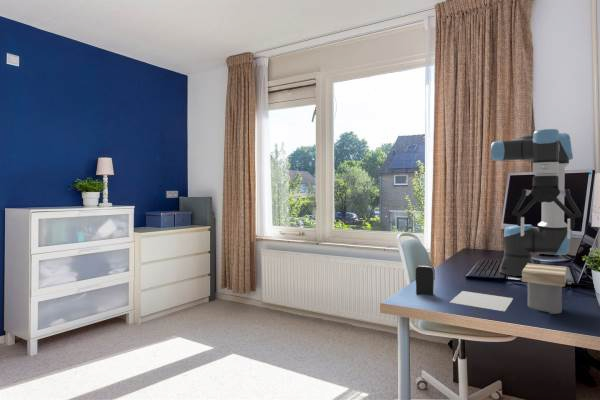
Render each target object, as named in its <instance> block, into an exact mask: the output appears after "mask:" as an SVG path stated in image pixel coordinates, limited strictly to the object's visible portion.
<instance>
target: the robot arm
mask: <svg viewBox="0 0 600 400" xmlns="http://www.w3.org/2000/svg"><path fill="white" fill-rule="evenodd" d="M490 157H491V160H492V161H494V162H495V161H496V162H498V161H499V162H502V161H506V162H507V161H523V162H525V161H526V162H532V174H533V175H534V176H533V177H532V189H531V190H530V189H525V188H524V189H522V191H521V196H520V197H519V200H518V201H517V203H516V205H515V206H514V208H513V210H512V212H511V215H512V216H515V217H516V218H517V222H516V223H517V224H514V225H508V226H506V227H504V230H503V236H502V237H503V258H502V261H501V264H500V266H499V273H500V272H501V273H504V274H506V275H505V276H508V275H513V276H512V277H514V276H522V270H523V269H524V268H525V266H526V265H527V263H530V264H535V263H534V260H533V254H540V255H541V254H542V255H543V254H544V255H554V256H566V255H568V254H569V250H570V245H571V241H572V234H573V229H575V226H576V222H575V221H576V219H578V218H581V217H582V213H581V211H580V210H579V208H578V206H577V205H576V203H575V201H574V200H573V198H572V196H571V191H570V189H569V188H567V189H565V185H566V184H565V182H566V181H565V179H566V177H565V171H566V167H567V166H568V165H569V164H570V160H573V159H574V156H573V147H572V142H571V136H570V134H569V133H566V132H565V133H564V132H563V133H561V132H559V130H558V129H556V128H553V129H552V128H546V129H538V130H535V131H534V132H533V134H532V135H531V134H530V135H524V136H521V137H517V138H513V139H511V140H510V139H509V140H499V141H492V143H491V145H490ZM530 194H531V195H532V196H533V199H531V200H530V201H529V203H527V205H525V206H524V208H523V209H521V210H520V208H521V206H522V204H523V203H524V201H525V200H526V198H527V197H528V196H530ZM565 198H566V199H567V202H568V204H569V206H570V207H571V209H572V210H573V212H574V213H575V214H573V212H571V210H569V208H567V206H566V205H565ZM537 202H539V203H541V220H540V222H538V223H537V227H534V226H533V225H532V224H530V223H529V224H525V217H524V216H523V215H524V214H525V213H527V211H528V210H529V209H530V208H531V207H532V206H533V205H534V204H535V203H537ZM519 210H520V211H519ZM518 211H519V212H518ZM565 214H566V215H567V217H569V218H567V222H565ZM501 273H500V274H501ZM504 274H503V275H504Z"/></svg>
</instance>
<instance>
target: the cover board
mask: <svg viewBox="0 0 600 400" xmlns="http://www.w3.org/2000/svg"><path fill="white" fill-rule="evenodd" d="M567 268H568V267H567V266H563V265H562V266H561V265H551V264H550V265H549V264H540V263H539V264H538V263H534V264H530V263H527V265H526V266H525V268H524V269H523V270H522V277H521V282H523V283H528V282H529V283H538V284H546V285H555V286H562V288H563V287H565V286H566V280H567V272H568V270H567Z"/></svg>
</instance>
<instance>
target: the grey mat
mask: <svg viewBox="0 0 600 400" xmlns="http://www.w3.org/2000/svg"><path fill="white" fill-rule="evenodd" d="M513 299H514V298H513V297H506V296H500V295H494V294H493V295H492V294H485V293H479V292H471V291H465V290H462V291H460V293H458V294H457V295H455V296H454V298H453V299H452V300H450V301H449V303H451V304H457V305H461V306H462V305H463V306H469V307H475V308H481V309H488V310H494V311H499V312H504V313H505V312H506V311H507V310H508V308H509V306H510V304H511V303H512V301H513Z"/></svg>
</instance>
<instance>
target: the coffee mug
mask: <svg viewBox="0 0 600 400" xmlns="http://www.w3.org/2000/svg"><path fill="white" fill-rule="evenodd" d="M527 307H528V308H530V309H532V310H536V311H539V312H547V313H548V314H550V315H555V314H560V313H562V312H563V310H562V309H563V286H555V285H546V284H538V283H529V282H527Z"/></svg>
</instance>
